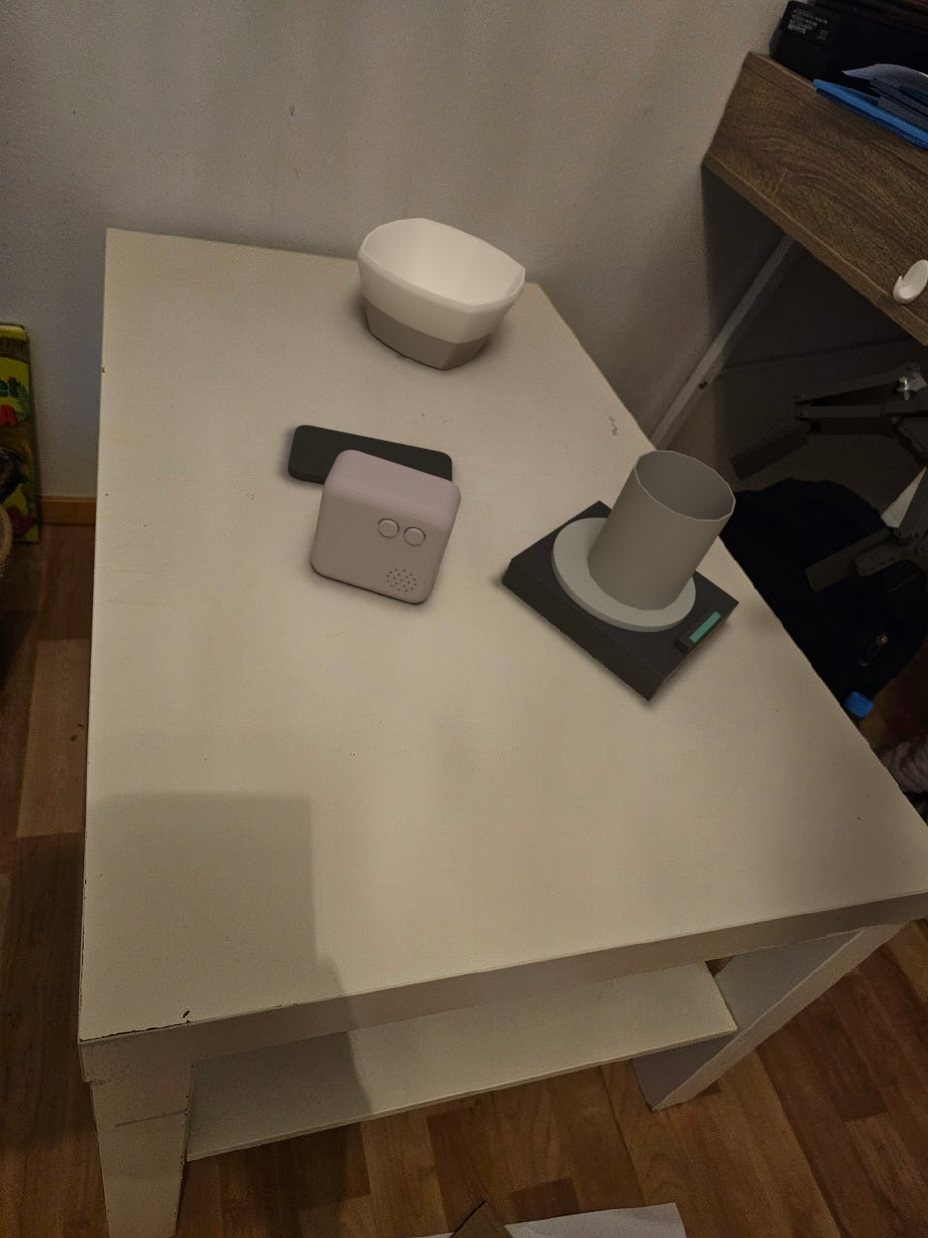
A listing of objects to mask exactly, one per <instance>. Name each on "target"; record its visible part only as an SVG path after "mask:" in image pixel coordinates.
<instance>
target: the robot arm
mask: <svg viewBox="0 0 928 1238" xmlns="http://www.w3.org/2000/svg"><path fill="white" fill-rule="evenodd" d="M910 397H911V399H910ZM792 399H793V402H794V406H795V413H794V414H793V415H792V416H791V417H789V418H788V419H786V420H784V421H782V422H781V423H779V424H777V425H775V426H773V427H772V428H769V429H768V430H766V431H765V432H764V433H763V434H762V435H761V438H762V440H760V441H758V442H756V443H755V444H753V445H751V446H749V447H747V448H745V449H744V450H742V451H741V452H738V453H737V454H735V455H734V456H732V457H730V458H729V461H730V463H731V466H732V468H733V470H734V474H735V475H736V478H737V479H738V481H739V482H742V481H744V480H746V479H748V478H750V477H752V476H753V475H756V473H759V472H760V471H762V470H764V469H766V468H767V467H770V466H771V465H773V464H775V463H777V462H779V461H780V460H782V459H784V458H785V457H788V456H790V455H791V454H793V453H795V452H797V451H798V450H800V449H802V448H804V447H805V446H807V445H809V438H810V436H884V437H885V438H887V439H898V443H899V445H900V446H901V447H902V449H904V450H905V451H907V452H908V453H910V454H912V456H913V459H914V462H915V463H916V464H917V465H918V466H919V467H920V468H923V467H925V469H924V472H923V474H922V476H921V478H920V481H919V482H918V485H917V487H916V489H915V491H914V493H913V496H912V498H911V501H910V502H909V504H908V507H907V509H906V511H905V513H904V515H903V517H902V520H901V521H900V524H899V525H898V529H896V528H894V531H893V534H894V537H892V534H891V532H890V531H889V530H888V529H887V527H884V528H881V529H879V530H878V531H876V532H874V533H872V534H870V535H868V536H866V537H864V538H863V539H860V540H858V541H856V542H854V543H852V544H851V545H849V546H847V547H844V548H843V549H841V550H839V551H837V552H835V553H832V555H830V556H828V557H826V558H824V559H822V560H820V561H818V562H815V563H814V564H812V565H810V566H807V567H806V568H804V571H805V574H806V576H807V578H808V582H809V584H810V587H811V588H812V590H813V591H814V592H815V593H818V592H819V591H822V590H823V589H825V588H827V587H829V586H832V585H833V584H835V583H837V582H839V581H841V580H843V579H845V578H846V577H849V576H851V575H853V574H855V573H858V574H859V576H860V577H861V578H862V577H869V576H871V575H874V574H875V573H877V572H880V571H881V570H883V569H885V568H886V567H889V566H891V565H893V564H894V563H897V562H899V561H901V560H906V561H907V560H909V561H911V562H912V563H914V564H916V565H918V566H919V568H920V570H922V571H923V572H927V573H928V533H927V534H926V536H924V535H925V533H926V531H927V528H928V383H927V382H926V381H925V379H924V378H923V377H922V375H921V369H920V363H918V362H917V361H909V362H906V363H904V364H902V365H900V366H898V367H895V368H894V369H891V370H889V371H887V372H882V373H878V374H873V375H868V376H863V377H859V378H854V379H849V380H845V381H839V382H834V383H829V384H825V385H821V386H815V387H812V388H805V389H802V390H798V391H796V392H795V393H794V395H793V398H792ZM900 399H901V400H900ZM897 417H900V418H899V419H898V420H897ZM923 537H924V538H923Z"/></svg>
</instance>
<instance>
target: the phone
mask: <svg viewBox="0 0 928 1238" xmlns="http://www.w3.org/2000/svg"><path fill="white" fill-rule="evenodd" d="M347 450H355V451H359V452H362V453H365V454H368V455H371V456H375V457H378V458H381V459H384V460H387V461H390V462H393V463H396V464H399V465H402V466H405V467H409V468H412V469H415V470H418V471H421V472H424V473H427V474H430V475H433V476H436V477H439V478H443V479H446V480H448V481H451V482H452V483H453V459H452V457H451V456H450V455H449V454H447V453H446V452H443V451H440V450H435V449H430V448H425V447H420V446H415V445H409V444H405V443H401V442H395V441H391V440H385V439H380V438H375V437H371V436H365V435H360V434H355V433H351V432H345V431H339V430H335V429H330V428H325V427H320V426H315V425H311V424H301V425H298V426H297V427H296V428H295V431H294V433H293V439H292V444H291V448H290V454H289V458H288V464H287V470H288V471H287V472H288V473H289V474H290V475H291V476H293V477H295V478H296V479H301V480H305V481H311V482H316V483H322V484H325V481H326V479H327V477H328V475H329V473H330V471H331V469H332V467H333V465H334V463H335V461H336V458H337V457H338V455H339V454H340V453H342V452H344V451H347Z"/></svg>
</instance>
